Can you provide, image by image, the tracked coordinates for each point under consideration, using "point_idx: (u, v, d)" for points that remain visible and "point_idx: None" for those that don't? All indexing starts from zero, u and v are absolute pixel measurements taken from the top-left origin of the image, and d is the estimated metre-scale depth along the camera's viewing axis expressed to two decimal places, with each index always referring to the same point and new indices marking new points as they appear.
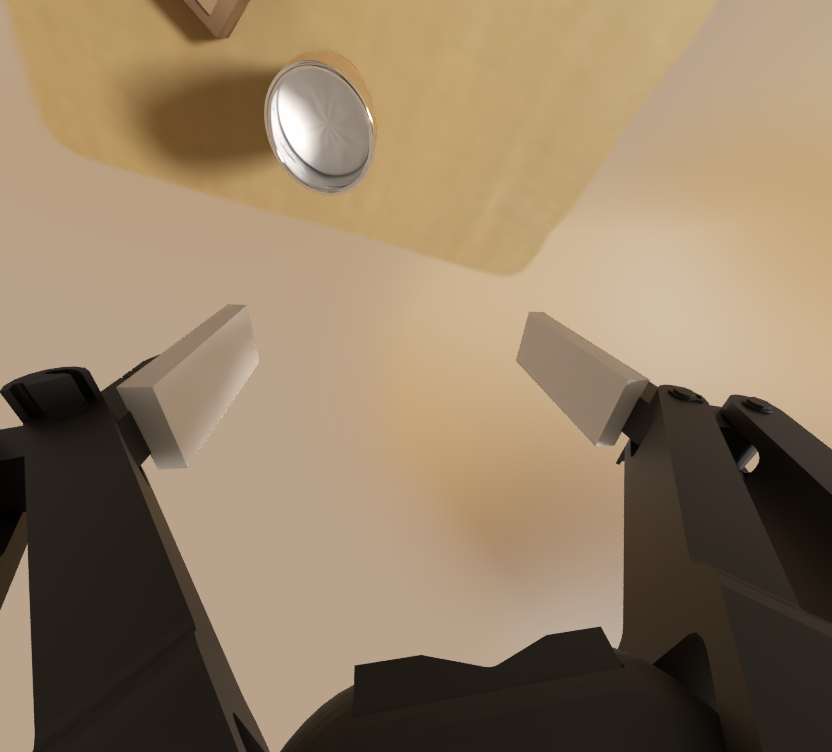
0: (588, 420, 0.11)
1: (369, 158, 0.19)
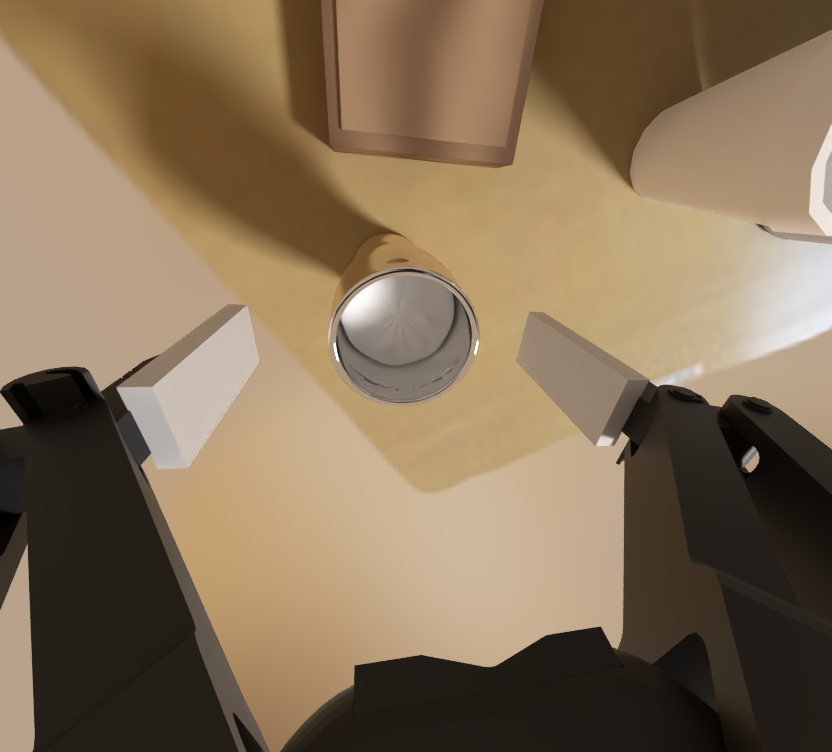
0: (588, 420, 0.11)
1: (434, 396, 0.14)
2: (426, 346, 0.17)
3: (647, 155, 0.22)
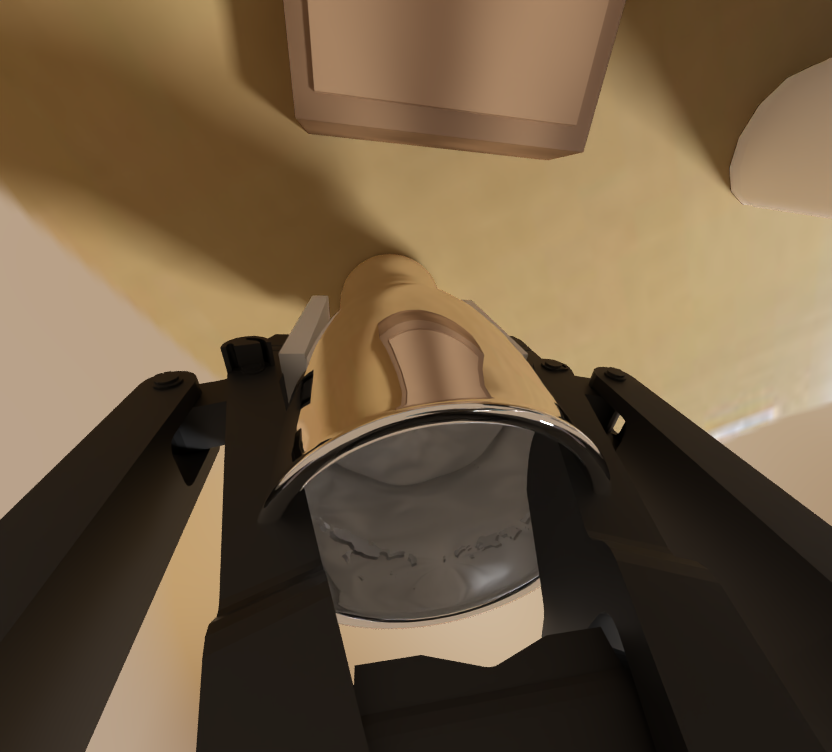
0: None
1: (491, 606, 0.07)
2: (459, 458, 0.10)
3: (770, 141, 0.15)
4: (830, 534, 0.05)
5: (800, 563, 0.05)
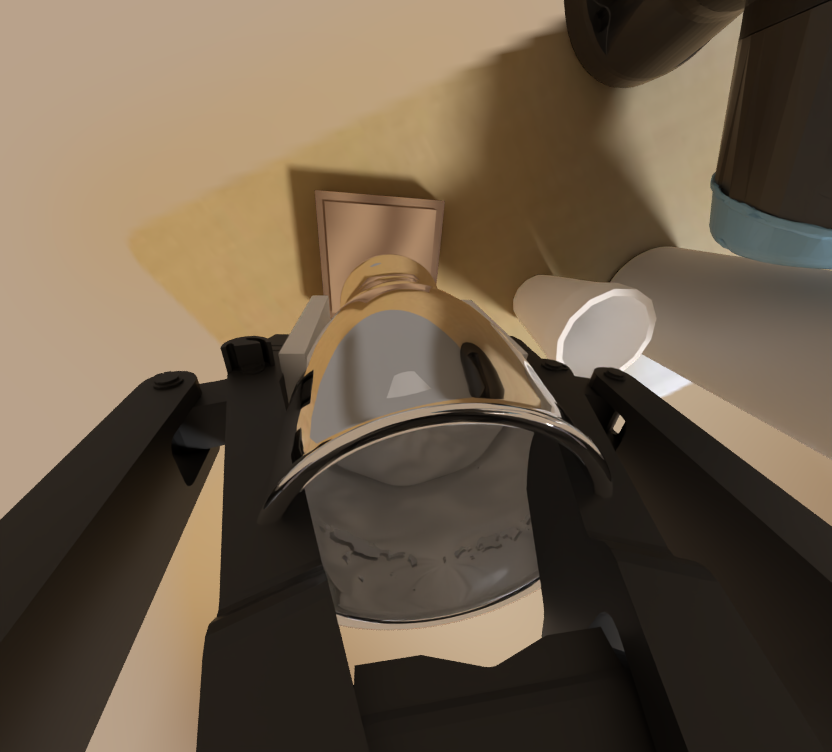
0: None
1: (492, 608, 0.07)
2: (460, 458, 0.10)
3: (517, 307, 0.36)
4: (828, 534, 0.05)
5: (800, 563, 0.05)
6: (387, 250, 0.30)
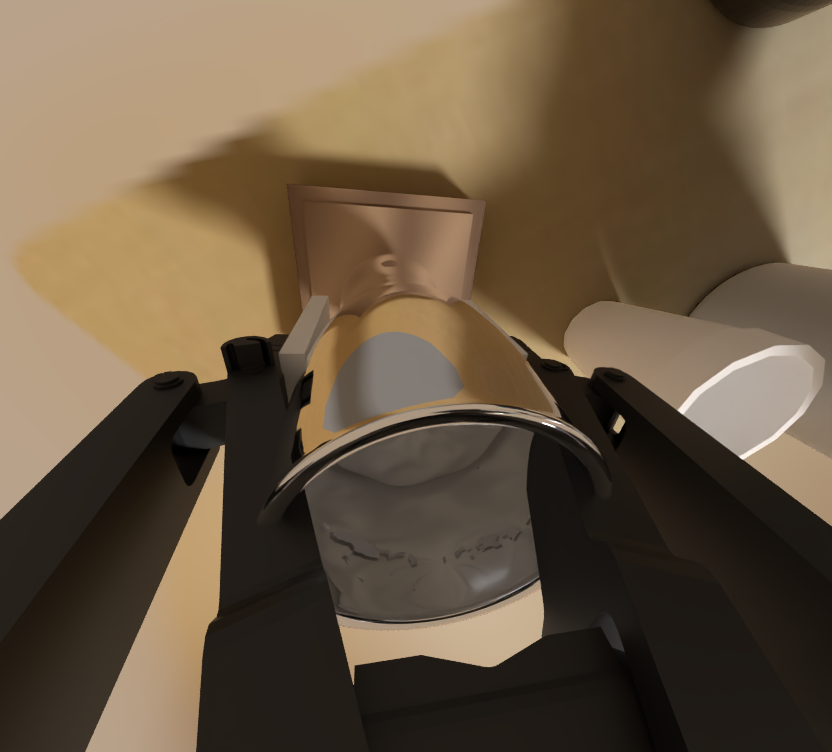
0: None
1: (492, 608, 0.07)
2: (460, 458, 0.10)
3: (573, 345, 0.27)
4: (829, 534, 0.05)
5: (800, 563, 0.05)
6: None
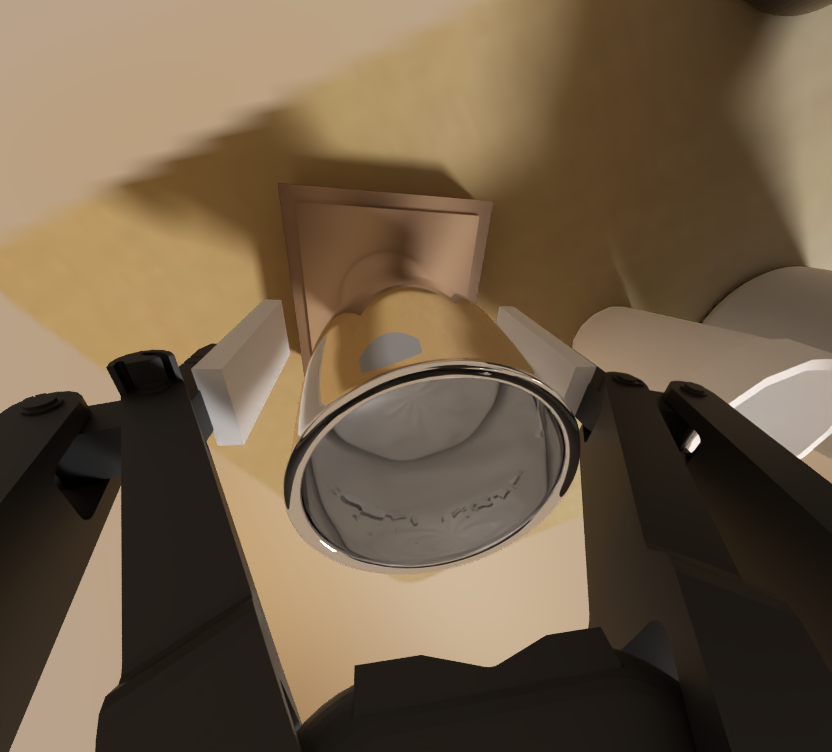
0: None
1: (484, 553, 0.08)
2: (455, 433, 0.11)
3: (582, 353, 0.25)
4: None
5: None
6: None
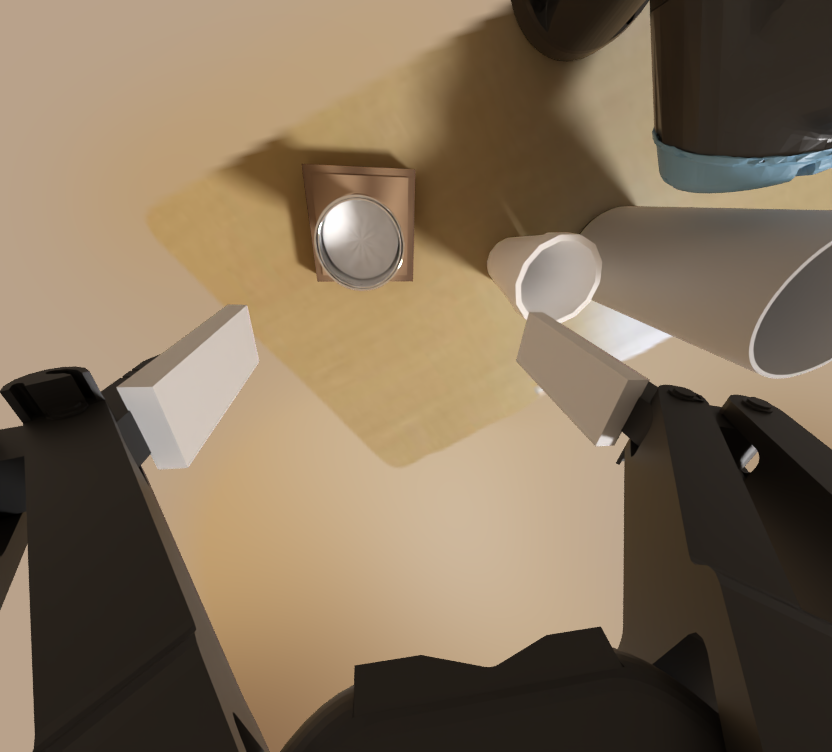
0: (588, 420, 0.11)
1: (382, 282, 0.23)
2: (382, 263, 0.27)
3: (489, 267, 0.40)
4: None
5: None
6: None
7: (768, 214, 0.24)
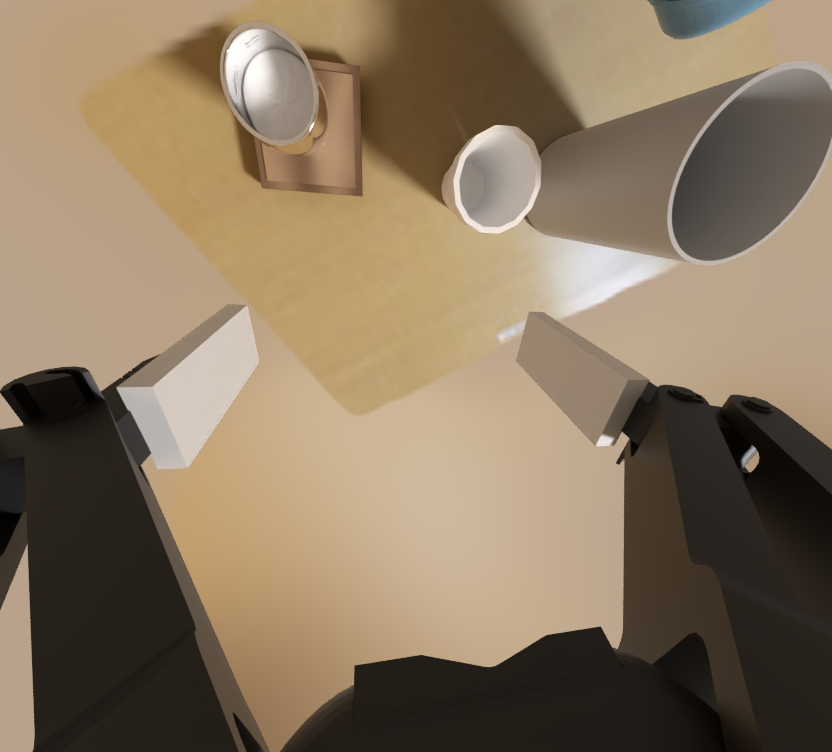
0: (588, 420, 0.11)
1: (297, 137, 0.23)
2: None
3: (442, 189, 0.40)
4: None
5: None
6: None
7: None
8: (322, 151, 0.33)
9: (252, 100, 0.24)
